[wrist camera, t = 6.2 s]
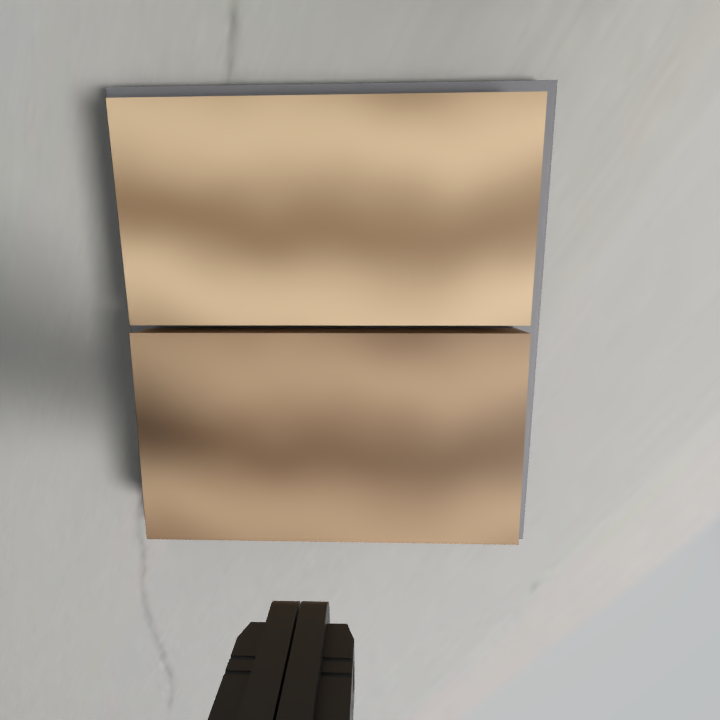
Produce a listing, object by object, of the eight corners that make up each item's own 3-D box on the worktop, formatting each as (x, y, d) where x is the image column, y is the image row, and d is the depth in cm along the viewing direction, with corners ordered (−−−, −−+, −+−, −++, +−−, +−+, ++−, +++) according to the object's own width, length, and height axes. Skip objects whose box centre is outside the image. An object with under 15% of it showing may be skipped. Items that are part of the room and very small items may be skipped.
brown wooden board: (152, 328, 21) (129, 332, 19) (515, 328, 21) (530, 333, 19) (166, 516, 23) (146, 539, 21) (505, 521, 22) (518, 544, 20)
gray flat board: (118, 95, 20) (105, 86, 19) (548, 88, 20) (557, 80, 19) (161, 522, 25) (152, 533, 24) (516, 527, 24) (522, 538, 23)
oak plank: (132, 113, 20) (105, 97, 18) (529, 108, 19) (547, 91, 17) (152, 319, 21) (129, 325, 19) (515, 319, 21) (530, 325, 19)
